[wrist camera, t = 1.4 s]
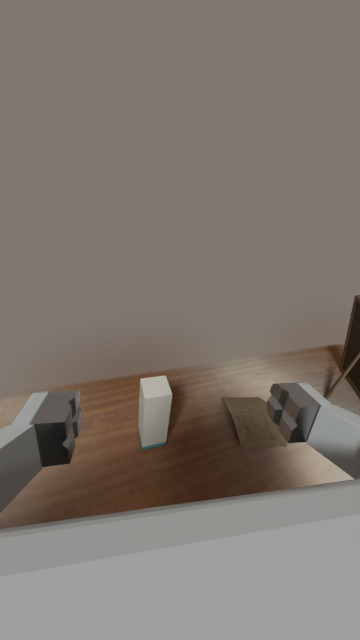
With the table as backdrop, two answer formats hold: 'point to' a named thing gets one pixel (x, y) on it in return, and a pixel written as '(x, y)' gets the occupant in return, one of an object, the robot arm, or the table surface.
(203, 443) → the table surface
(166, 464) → the table surface
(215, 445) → the table surface
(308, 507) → the robot arm
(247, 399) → the clay tablet
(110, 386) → the table surface
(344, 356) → the photo frame
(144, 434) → the block
